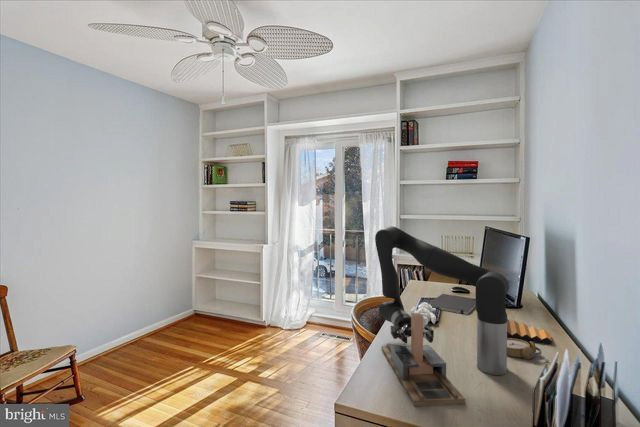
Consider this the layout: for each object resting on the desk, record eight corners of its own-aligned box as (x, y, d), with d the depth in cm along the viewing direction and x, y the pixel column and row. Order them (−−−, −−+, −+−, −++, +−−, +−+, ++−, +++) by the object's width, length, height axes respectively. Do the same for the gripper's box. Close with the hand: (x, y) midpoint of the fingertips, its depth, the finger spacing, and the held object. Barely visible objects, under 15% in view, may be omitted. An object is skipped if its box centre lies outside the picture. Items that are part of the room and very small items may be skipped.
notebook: (442, 297, 207) (426, 308, 185) (442, 293, 207) (426, 304, 185) (480, 303, 194) (467, 315, 172) (480, 299, 194) (467, 311, 172)
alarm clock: (500, 336, 137) (543, 339, 127) (502, 348, 136) (545, 352, 126) (492, 344, 129) (536, 349, 118) (494, 357, 128) (539, 363, 118)
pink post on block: (401, 363, 116) (401, 311, 116) (423, 362, 117) (424, 310, 116) (409, 374, 108) (409, 319, 108) (433, 373, 109) (433, 318, 108)
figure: (432, 335, 149) (440, 315, 171) (432, 319, 148) (440, 300, 170) (403, 330, 155) (415, 311, 177) (403, 314, 154) (415, 297, 176)
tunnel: (390, 359, 119) (390, 346, 119) (428, 358, 120) (428, 344, 120) (403, 380, 105) (403, 364, 105) (446, 378, 106) (446, 363, 106)
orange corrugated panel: (484, 318, 168) (483, 335, 146) (484, 311, 168) (483, 327, 146) (543, 326, 157) (552, 346, 134) (543, 319, 157) (552, 338, 134)
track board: (381, 350, 130) (381, 344, 130) (419, 349, 131) (419, 343, 131) (413, 406, 94) (413, 397, 94) (464, 403, 95) (465, 395, 95)
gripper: (385, 313, 126) (398, 329, 110) (421, 312, 127) (439, 328, 111) (385, 333, 126) (397, 352, 110) (421, 332, 127) (439, 350, 111)
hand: (418, 340), depth 110 cm, fingers open, 8 cm apart
